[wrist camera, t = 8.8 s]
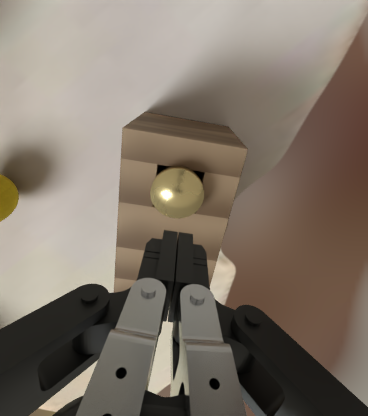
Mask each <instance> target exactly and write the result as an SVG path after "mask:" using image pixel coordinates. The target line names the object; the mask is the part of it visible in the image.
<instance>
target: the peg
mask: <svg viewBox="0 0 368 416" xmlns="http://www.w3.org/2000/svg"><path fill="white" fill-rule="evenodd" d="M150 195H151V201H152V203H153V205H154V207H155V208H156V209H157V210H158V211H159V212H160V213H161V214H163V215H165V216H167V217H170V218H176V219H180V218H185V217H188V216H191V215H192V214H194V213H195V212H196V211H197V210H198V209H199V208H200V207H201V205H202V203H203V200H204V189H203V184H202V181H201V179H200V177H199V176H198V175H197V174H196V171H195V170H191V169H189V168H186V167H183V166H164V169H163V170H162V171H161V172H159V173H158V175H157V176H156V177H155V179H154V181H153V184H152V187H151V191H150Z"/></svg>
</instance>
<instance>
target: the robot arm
mask: <svg viewBox="0 0 368 416" xmlns="http://www.w3.org/2000/svg"><path fill="white" fill-rule="evenodd" d="M177 236H178V239H177ZM207 266H208V265H207V254H206V251H205V249H204V248H203V246H202V245H198V244H193V234H190V233H183V232H179V234H178V232H176V231H169V230H164V232H163V238H162V239H156V238H152V239H151V240H149V241H148V242H147V243H146V247H145V251H144V254H143V258H142V262H141V266H140V270H139V273H138V277H137V280H136V282H135V283H134V284H133V285H132V287H130V288H129V289H127V290H124V291H121V292H114V293H109V292H108V290H107V289H106V288H105V287H103V286H101V285H98V284H86V285H83V286H80V287H78V288H76V289H75V290H73V291H71V292H69V293H67V294H65V295H63V296H62V297H60V298H58V299H56V300H54V301H52V302H50V303H48V304H47V305H45V306H43V307H41V308H39V309H37V310H35V311H34V312H32V313H30V314H28V315H26V316H24V317H22V318H20V319H19V320H17V321H15V322H13V323H11V324H9V325H7V326H5V327H4V328H2V329H0V416H29V415H30V414H31V413H33V412H34V411H35V410H36V409H38V408H39V407H40V406H41V405H43V404H44V403H45V402H46V401H47V400H49V399H50V398H51V397H52V396H54V395H55V394H56V393H57V392H59V391H60V390H61V389H62V388H64V387H65V386H66V385H67V384H68V383H70V382H71V381H72V380H73V379H75V378H76V377H77V376H78V375H80V374H81V373H82V372H83V371H85V370H86V369H87V368H88V367H89V366H91V365H92V364H93V363H94V362H96V361H97V360H98V362H97V364H96V367H95V369H94V372H93V374H92V377H91V379H90V381H89V384H88V386H87V389H86V391H85V394H84V396H81V397H79V398H77V399H75V400H73V401H72V402H70V403H68V404H67V405H65V406H64V407H63V408H61V409H60V410H58V411H57V412H56V413H55V414H54V415H53V416H247V415H246V411H245V406H244V402H243V400H244V401H245V403H246V404H247V405H248V406H249V408H250V409H251V410H252V412H253V413H254V414H255V415H256V416H368V407H367V406H366V405H365V404H364V403H363V402H361V401H360V400H359V399H358V398H357V397H356V396H355V395H354V394H353V393H352V392H350V391H349V390H348V389H347V388H346V387H345V386H344V385H343V384H342V383H341V382H339V381H338V380H337V379H336V378H335V377H334V376H333V375H332V374H331V373H330V372H329V371H327V370H326V369H325V368H324V367H323V366H322V365H321V364H320V363H319V362H318V361H316V360H315V359H314V358H313V357H312V356H311V355H310V354H309V353H308V352H307V351H305V350H304V349H303V348H302V347H301V346H300V345H299V344H297V342H296V341H294V340H293V339H292V338H291V337H290V336H289V335H288V334H287V333H286V332H284V330H282V329H281V328H280V327H279V326H278V325H277V324H276V323H275V322H274V321H272V320H271V319H270V318H269V317H268V316H267V315H266V314H265V313H264V312H263V311H261V310H260V309H258V308H256V307H254V306H250V305H242V306H239V307H238V308H237V309H236V310H233V309H231V308H229V307H226V306H224V305H222V304H220V303H219V302H218V301H216V300H215V298H214V295H213V294H212V292H211V291H210V286H209V275H208V267H207ZM168 310H169V314H168ZM167 315H168V322H173V331H172V335H171V393H170V397H161V396H159V395H156V394H154V393H152V392H149V391H148V386H149V381H150V376H151V371H152V366H153V361H154V356H155V351H156V347H157V342H158V337H159V335H160V333H161V329H162V323H163V321H166V320H167Z"/></svg>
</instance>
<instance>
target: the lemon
mask: <svg viewBox="0 0 368 416" xmlns="http://www.w3.org/2000/svg"><path fill="white" fill-rule="evenodd" d="M18 200H19V196H18V191H17V188H16V186H15V184H14V183H13V182H12V181H11V180H10V179H8V178H7V177H5V176H3V175H1V174H0V222H1V221H2V220H4V219H5V218H7V217H8V216H9V215H10V214H11V213H12V212H13V211H14V209H15V208H16V206H17V203H18Z"/></svg>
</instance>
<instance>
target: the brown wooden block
mask: <svg viewBox="0 0 368 416" xmlns="http://www.w3.org/2000/svg"><path fill="white" fill-rule="evenodd" d="M247 151H248V149H247V147H246V146H245V145H244V144H243V143H242V142H241V141H240V139H239V138H238V137H237V136H236V135H235V134H234V133H233V131H232V130H231V129H230V128H229V127H227V126H221V125H216V124H210V123H204V122H199V121H193V120H187V119H182V118H176V117H170V116H164V115H159V114H153V113H147V112H144V113H143V114H141V115H140V116H139V117H137V118H136V119H134V120H133V121H131V122H130V123H129V124H127V125H126V126H124V127H123V129H122V148H121V167H120V186H119V204H118V223H117V242H116V261H115V280H114V292H121V291H124V290H127V289H129V288H130V287H132V285H133V284H134V283H135V282H136V280H137V277H138V273H139V270H140V266H141V262H142V258H143V254H144V251H145V247H146V243H147V242H148V241H149V240H151V239H152V238H156V239H162V238H163V232H164V230H169V231H176V232H178V234H179V232H183V233H190V234H193V244H198V245H202V246H203V248H204V249H205V251H206V254H207V265H208V266H207V267H208V275H209V286H210V283H211V280H212V276H213V273H214V269H215V266H216V262H217V258H218V255H219V251H220V248H221V244H222V241H223V237H224V233H225V230H226V226H227V223H228V219H229V216H230V211H231V208H232V205H233V201H234V198H235V194H236V191H237V187H238V183H239V180H240V176H241V173H242V169H243V166H244V162H245V158H246V155H247ZM164 165H165V166H183V167H186V168H189V169H191V170H195V171H196V174H197V175H198V176H199V177H200V179H201V181H202V184H203V189H204V200H203V203H202V205H201V207H200V208H199V209H198V210H197V211H196V212H195V213H194V214H192V215H191V216H188V217H185V218H180V219H176V218H170V217H167V216H165V215H163V214H161V213H160V212H159V211H158V210H157V209H156V208H155V207H154V205H153V203H152V201H151V195H150V191H151V187H152V184H153V181H154V179H155V177H156V176H157V175H158V173H159V172H161V171H162V170H163V167H164ZM177 239H178V236H177Z"/></svg>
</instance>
